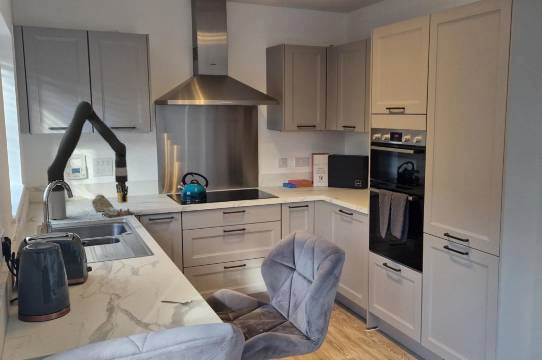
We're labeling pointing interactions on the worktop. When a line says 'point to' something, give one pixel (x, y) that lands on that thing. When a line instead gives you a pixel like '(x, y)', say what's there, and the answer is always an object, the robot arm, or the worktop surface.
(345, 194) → the worktop surface
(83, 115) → the robot arm
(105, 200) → the fossil tooth
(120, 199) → the jaw block
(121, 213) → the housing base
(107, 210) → the keeper
